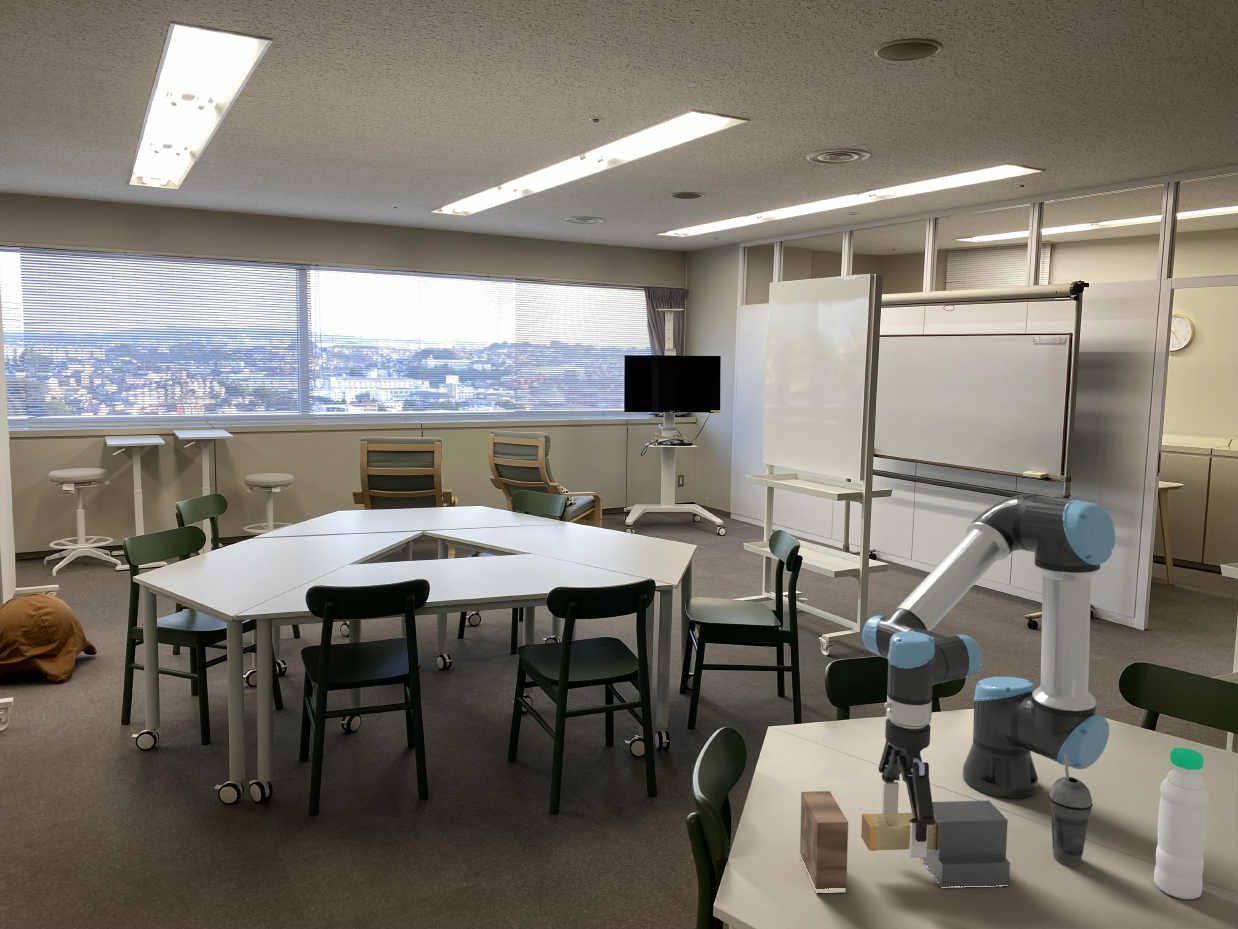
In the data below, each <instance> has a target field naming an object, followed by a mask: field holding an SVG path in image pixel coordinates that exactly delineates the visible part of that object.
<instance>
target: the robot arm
mask: <svg viewBox="0 0 1238 929" xmlns="http://www.w3.org/2000/svg"><path fill="white" fill-rule="evenodd" d="M965 530H966V531H965V535H966V536H965V537H963V539H962V540H960V542H958V544H957V545H956V546H955V547H954V548H952V550H951V551H950V552H949V553H948V554H947V555H946V556H945V558H944V559H943V560H942V561H940V562H939V563H938V564H937V566H936V567H935V568H934V569H933V570H932V571H931V572H930V573H929V574H928V575H927V576H926V577H925V578H924V579H923V580H922V581H921V582H920V583H919V585H917V586H916V587H915V589H913V591H911V593H910V594H909V595H908V596H907V597H906V598H905V599H904V600H903V601H902V602H901V603H900V604H899V605H898V606H897V607H896V609H895V610H894V611H892V613H891V614H889V616H887V615H875V616H872V617H870V618H869V619H868V620H867V621H866V622H865V624H864V627H863V628H862V629H863V630H862V633H861V634H862V642H863V644H864V647H865V648H866V649H867V650H868V651H869V652H871V653H873V654H875V655H877V656H878V657H881V658H883V659H887V661H888V662H887V664H888V665H887V668H888V669H887V691H886V692H887V693H886V694H887V695H886V702H884V709H885V708H886V714H885V716H886V717H887V718H886V720H885V735H884V738H885V745H884V748H883V751H882V753H881V758H880V760H879V761H880V762H879V766H878V772H879V773H880V774H881V780H882V781H883V782H882V800H881V801H882V803H881V814H885V813H899V812H898V809H899V806H898V805H899V792H900V791H899V789H900V788H899V786H900V785H899V784H900V783H899V782H898V781H900V780H901V778H902V781H903V782H904V783H905V784H906V788H907V793H908V799H909V800H908V801H909V803H910V808H911V813H912V814H913V818H912V819H910V820H909V821H910V823H911V825H910V847H909V849H908V850H909V851H908V853H909V854H908V856H909V857H910V858H911V859H912V858H913V859H914V858H915V859H916V858H919V859H920V858H923V857H926V854H927V833H928V825H934V824H935V820H934V812H933V804H932V802H933V798H932V790H931V789H932V788H931V784H930V783H931V781H930V765H929V762H924V761H923V760H922V757H921V752H922V750H925V749H926V748H928V747H929V746H930V744H931V729H932V728H931V725H930V724H931V722H932V711H933V710H932V709H933V686H934V685H937V684H938V685H939V684H942V683H947V682H951V681H957V680H963V679H965V678H967V677H969V676H972V675H975V674H976V673H978V672H979V670H980V669H981V667H982V665H983V653H982V649H981V647H980V645H979V643H978V642H977V641H976V640H975V639H974V638H972V637H971V636H969V635H967V634H951V635H950V636H949V635H943V634H941V633H937V632H933V631H932V630H933V629H934V628H935V627H936V626H937V625H938V624H939V623H940V621H942V619H943V618H944V617H945V616H947V615H948V613H949V612H950V611H951V610H952V609H953V608H954V607H955V605H956V604H958V603H959V601H960V600H961V599H962V598H963V597H964V596H965V595H966V594H967V593H968V592H969V590H970V589H971V588H972V587H973V586H974V585H975V584H976V583H977V582H978V581H979V580H980V579H981V578H982V577H983V576H984V575H985V574H986V572H987V571H988V570H989V569H990V568H992V566H993V565H994V564H995V563H996V561H1002V560H1005V559H1007V557H1008V556H1009V555H1010V554H1011V553H1012V552H1015V551H1026V552H1032V553H1034V567H1035V568H1037V569H1038V570H1039V572H1040V573H1041V574H1042V589H1041V591H1042V592H1041V594H1042V596H1041V598H1042V601H1041V640H1040V641H1041V645H1040V646H1041V649H1040V651H1041V652H1040V685H1039V687H1035V685H1034V683H1033V682H1032V681H1031V680H1029V679H1025V678H1021V677H1016V676H1014V677H1013V676H992V677H986V678H983V679H981V680H979V681H978V682H977V683H976V686H975V692H974V697H973V726H972V727H973V729H972V736H973V737H972V744H971V746H970V749H969V751H968V754H967V757H966V758H965V761H964V763H963V766H962V778H963V780H964V782H965V784H967V785H968V786H969V787H970V788H972V789H974V790H976V791H978V792H980V793H983V794H986V795H989V796H992V797H996V798H997V797H998V798H1003V799H1014V800H1015V799H1025V798H1029V797H1032V796H1034V795H1036V794H1037V792H1038V790H1039V777H1038V774H1037V773H1038V772H1037V770H1036V767H1035V764H1034V760H1033V757H1032V753H1034V754H1037V755H1040V756H1042V757H1044V758H1046V759H1049V760H1052V761H1054V762H1056V763H1058V764H1059V765H1061V766H1065V760H1064V754H1067V759H1068V767H1070V768H1072V769H1074V770H1075V769H1076V770H1083V769H1087V768H1090V767H1091V766H1093V765H1094V764H1095V763H1096V762H1097V761H1098V759H1099V758H1100V757H1101V755H1103V752H1104V751H1105V748H1106V746H1107V743H1108V740H1109V736H1110V725H1109V723H1108V720H1107V719H1106V718H1105V717H1104V716H1102V715H1101V714H1098V713H1097V700H1096V698H1095V697H1094V696H1093V695H1092V694H1091V693H1090V692H1089V673H1090V672H1089V671H1090V669H1089V668H1090V666H1089V665H1090V636H1091V631H1090V629H1091V602H1092V600H1091V599H1092V598H1091V597H1092V596H1091V594H1092V577H1093V576H1095V575H1096V574H1097V573H1099V571H1100V570H1101V565H1102V564H1105V563H1106V562H1107V561H1109V560H1110V558H1111V556H1112V555H1113V552H1112V550H1114V548H1115V545H1116V529H1115V525H1114V522H1113V520H1112V517H1111V515H1110V514H1109V512H1107V511H1106V509H1105V508H1104V507H1102V506H1101V505H1099V504H1097V503H1094V502H1089V501H1084V500H1082V499H1073V498H1064V497H1055V496H1045V495H1038V494H1033V493H1032V494H1031V493H1023V494H1017V495H1014V496H1010V497H1008V498H1005V499H1003V500H1001V501H999V502H997V503H995V504H994V505H992V506H991V507H989V508H987V509H985V510H984V511H983V512H981V514H979V515H978V516H976V518H975V519H973V521H972V522H970V524H969V525H967V527H966V529H965ZM900 775H901V778H900Z"/></svg>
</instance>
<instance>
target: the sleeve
mask: <svg viewBox="0 0 1238 929" xmlns="http://www.w3.org/2000/svg"><path fill="white" fill-rule="evenodd" d="M932 804H933V812H934V820H935V821H936V823H937V824H938V836H937V849H927V854H926V857H923V858H922V859H923V861H924V862H925V864H926V865H927V866H928V868H929V869H930V871H931V872H932V874H933V875H934V876H935V878H936V879H937V881H938V882H939V884H940V885H941V887H949V886H950V887H951V886H953V887H954V886H960V887H961V886H963V887H964V886H985V885H986V886H996V885H998V886H999V885H1009V886H1010V872H1011V870H1010V869H1011V862H1010V861H1009V860H1008V859H1007V841H1008V839H1007V838H1008V824H1009V823H1008V822H1009V821H1008V818H1006V817H1005V816H1004V814H1002V813H1001V811H1000V810H999V809H998V808H997V807H996V806H995V805H994V804H993V803H992V802H991V801H990V800H964V801H963V800H959V801H956V800H954V801H932ZM925 864H924V865H925ZM941 887H940V888H941Z"/></svg>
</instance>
